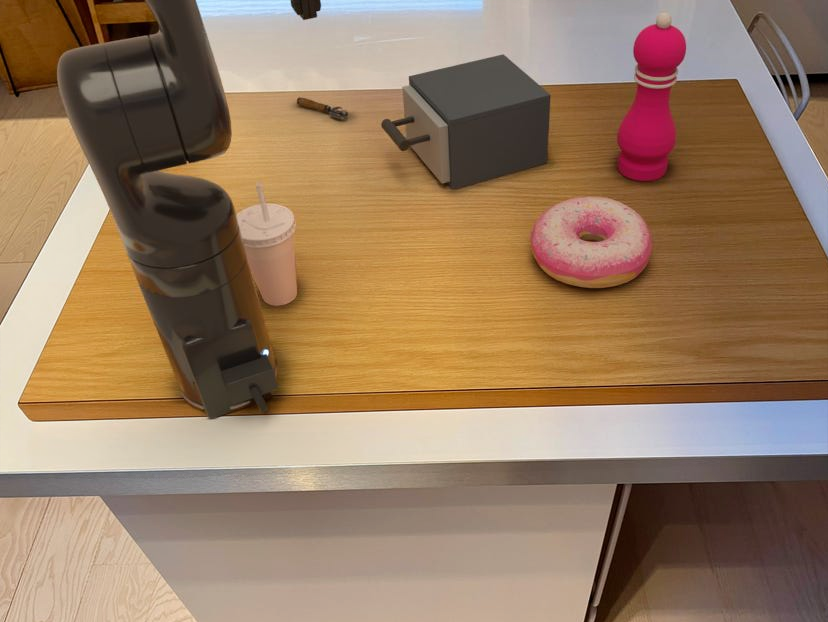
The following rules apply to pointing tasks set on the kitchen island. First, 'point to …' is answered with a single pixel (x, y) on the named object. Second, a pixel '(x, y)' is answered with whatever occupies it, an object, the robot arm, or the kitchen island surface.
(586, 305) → the kitchen island surface
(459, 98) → the cabinet
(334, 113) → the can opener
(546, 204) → the kitchen island surface
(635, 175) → the pepper mill
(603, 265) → the donut
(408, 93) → the drawer
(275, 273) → the smoothie
